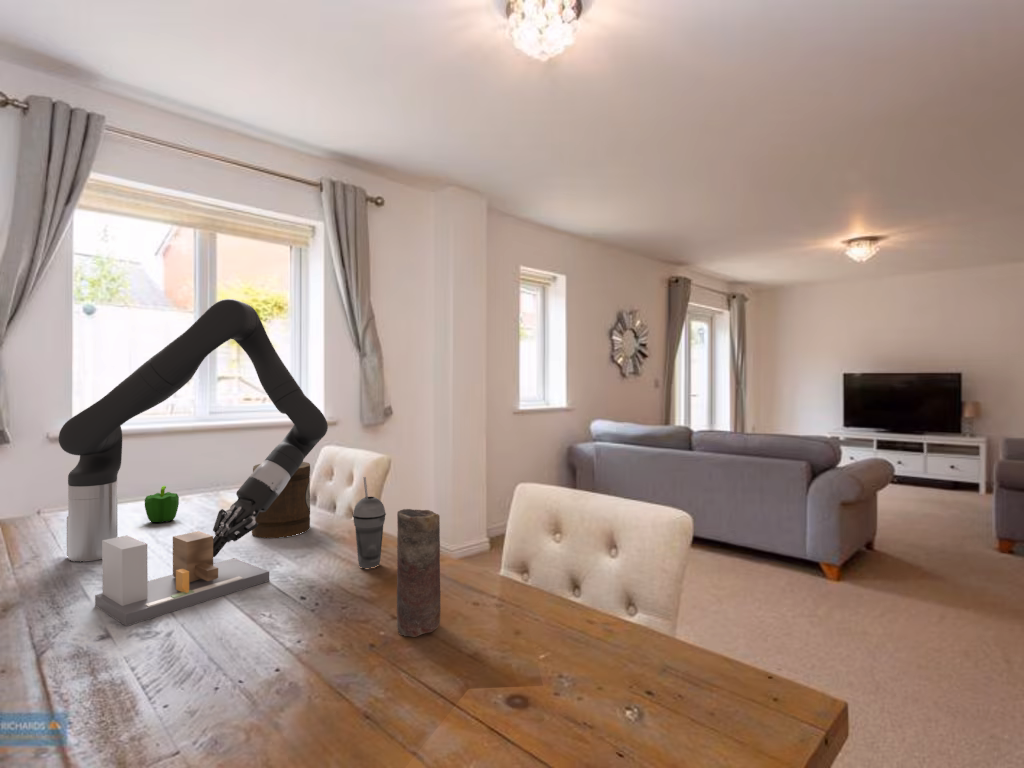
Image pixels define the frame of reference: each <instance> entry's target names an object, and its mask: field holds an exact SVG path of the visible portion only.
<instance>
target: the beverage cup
mask: <svg viewBox="0 0 1024 768" xmlns="http://www.w3.org/2000/svg"><path fill="white" fill-rule="evenodd" d="M363 483H364V484H363V485H364V495H365V497H362V498H361V499H359V501H357V503H356V504H355V506H354V508H353V515H352V518H353V524H354V526H355V539H356V540H355V541H356V550H357V551H356V552H357V561H358V567H359V566H360V567H362V568H371V567H375V566H377V565H379V566H380V564H381V556H382V546H383V545H382V544H383V543H382V542H383V533H384V524H385V520H386V515H387V513H386V509H385V506H384V503H383V502H382V501H381V500H380V499H379V498H377V497H375V496H369V495H368V485H367V477H366V476H364V477H363Z"/></svg>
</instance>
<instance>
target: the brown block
mask: <svg viewBox="0 0 1024 768" xmlns="http://www.w3.org/2000/svg"><path fill="white" fill-rule="evenodd" d="M213 538H214V536H213V535H212V534H211V535H210V534H209V533H206V532H203V531H199V530H198V531H192V532H188V533H184V534H178V535H174V536H172V575H173V577H175V578H176V570H179V569H185V570H187V571H189V582H192V581H196V580H199V579H204V580H206V581H210V580H214V579H217V578H218V568H217V567H215V566H213V564H214V557H213Z"/></svg>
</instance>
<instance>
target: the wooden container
mask: <svg viewBox="0 0 1024 768" xmlns="http://www.w3.org/2000/svg"><path fill="white" fill-rule="evenodd" d="M260 464H261V463H259V464H255V465H253V467H252V473H253V472H254V471H255V469H256V468H257V467H258V466H259V465H260ZM310 477H311V464H310V463H309V462H307V461H303V462H302V464H301V465H300V467H299V468H298V469H297V471H296V472H295V473H294V475H293V476H292V477H291V478H290V480H289V481H288V483H287V485H286V486H285V488H284V489H283V490H282V492H281V493H280V494H279V496H278V497H277V498H276V499H275V501H274V502H273V503H272V504H271V506H270V507H269V508H268V510H267V511H266V512H259V514H258V516H257V517H256V518H255V521H256V522H257V523H258V526H257V527H256V528H255V529H253V530H252V531H251V534H252V536H254V537H257V538H260V537H261V538H263V539H280V538H279V537H284V538H288V537H287V536H291V537H293V536H292V535H296V534H299V535H301V534H300V533H302V532H305V531H306V532H308V531H309V530H310V529H309V528H311V489H310V488H311V482H310V481H311V478H310ZM308 529H309V530H308ZM307 530H308V531H307ZM306 532H305V533H306ZM302 534H303V533H302ZM296 536H297V535H296ZM261 538H260V539H261Z"/></svg>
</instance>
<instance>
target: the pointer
mask: <svg viewBox="0 0 1024 768" xmlns="http://www.w3.org/2000/svg"><path fill="white" fill-rule="evenodd" d="M176 590H178V591H180V592H186V593H188V592H189V571H187V570H185V569H179V570H176Z"/></svg>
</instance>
